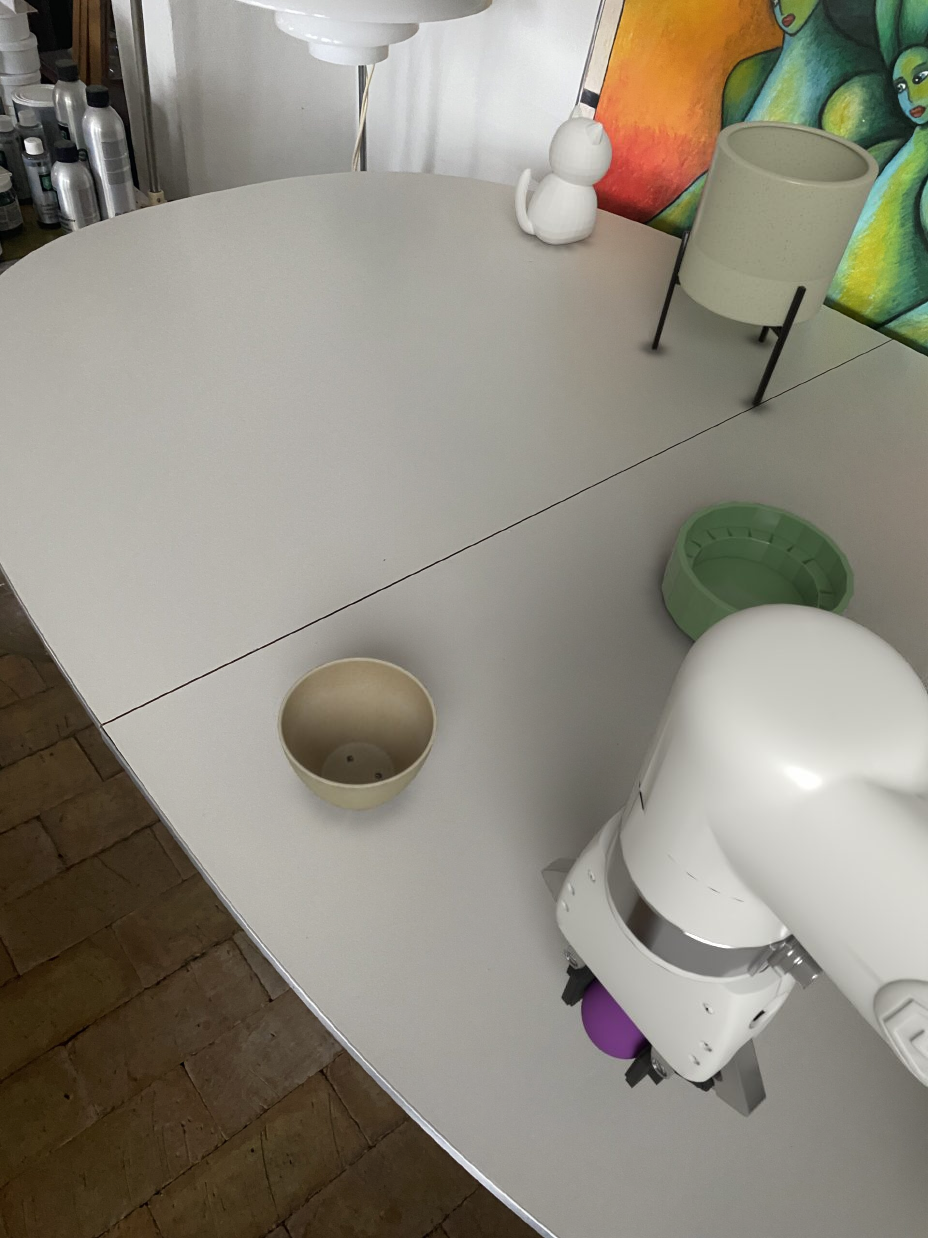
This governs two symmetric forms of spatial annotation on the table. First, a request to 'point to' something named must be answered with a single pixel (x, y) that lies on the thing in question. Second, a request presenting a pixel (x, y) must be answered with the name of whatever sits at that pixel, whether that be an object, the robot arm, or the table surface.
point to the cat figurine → (566, 183)
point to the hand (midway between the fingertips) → (616, 1024)
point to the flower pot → (357, 730)
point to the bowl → (751, 565)
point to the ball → (610, 1024)
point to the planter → (772, 226)
